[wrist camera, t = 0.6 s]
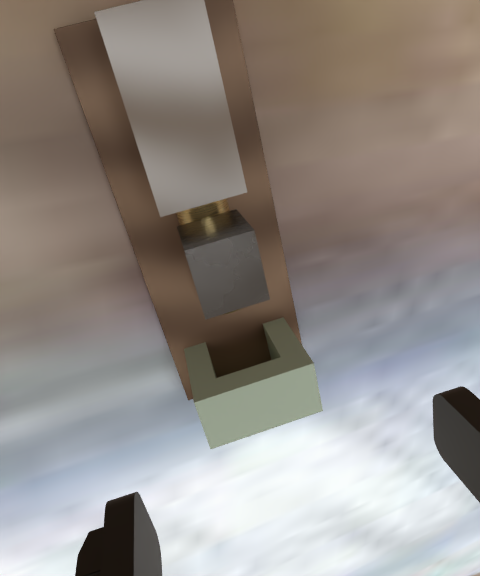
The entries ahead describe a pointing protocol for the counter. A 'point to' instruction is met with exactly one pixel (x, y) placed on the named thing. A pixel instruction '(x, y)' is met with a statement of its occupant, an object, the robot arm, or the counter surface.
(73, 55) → the stand
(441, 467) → the counter surface
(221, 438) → the socket block
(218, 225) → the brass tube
